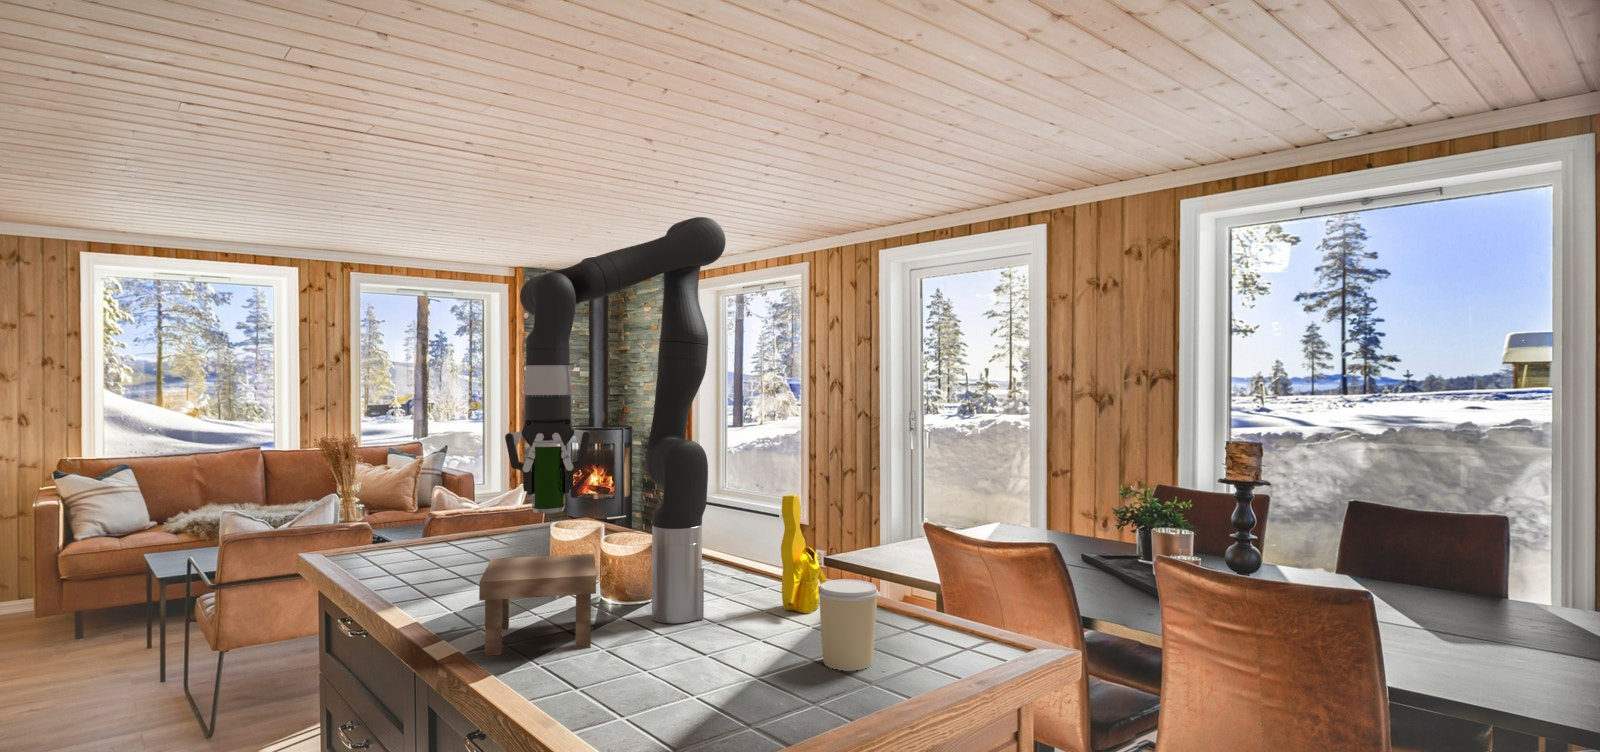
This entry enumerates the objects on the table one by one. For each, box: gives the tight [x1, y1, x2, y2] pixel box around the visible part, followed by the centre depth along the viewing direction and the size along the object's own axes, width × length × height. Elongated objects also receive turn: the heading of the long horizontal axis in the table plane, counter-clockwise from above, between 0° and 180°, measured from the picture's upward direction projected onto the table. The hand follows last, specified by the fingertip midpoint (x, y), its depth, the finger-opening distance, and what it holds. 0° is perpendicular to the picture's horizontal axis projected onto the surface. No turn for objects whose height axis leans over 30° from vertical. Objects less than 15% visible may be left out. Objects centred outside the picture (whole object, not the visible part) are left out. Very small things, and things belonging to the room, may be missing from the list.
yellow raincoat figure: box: [780, 494, 828, 614], centre depth 159 cm, size 18×8×22 cm, turn 156°
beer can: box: [531, 440, 566, 514], centre depth 137 cm, size 5×5×12 cm
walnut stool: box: [478, 553, 597, 656], centre depth 141 cm, size 18×18×12 cm
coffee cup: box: [818, 578, 879, 672], centre depth 128 cm, size 9×9×12 cm
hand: (548, 493), depth 137 cm, fingers closed on beer can, 5 cm apart
